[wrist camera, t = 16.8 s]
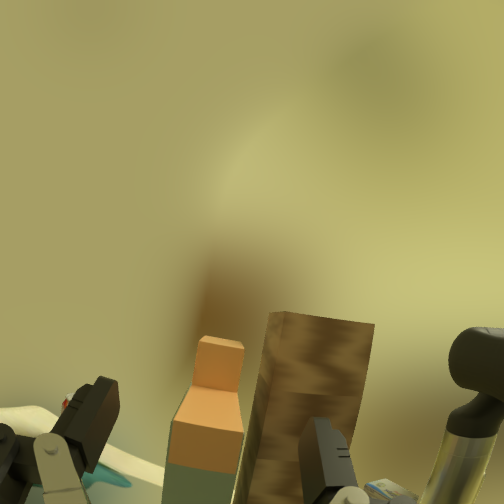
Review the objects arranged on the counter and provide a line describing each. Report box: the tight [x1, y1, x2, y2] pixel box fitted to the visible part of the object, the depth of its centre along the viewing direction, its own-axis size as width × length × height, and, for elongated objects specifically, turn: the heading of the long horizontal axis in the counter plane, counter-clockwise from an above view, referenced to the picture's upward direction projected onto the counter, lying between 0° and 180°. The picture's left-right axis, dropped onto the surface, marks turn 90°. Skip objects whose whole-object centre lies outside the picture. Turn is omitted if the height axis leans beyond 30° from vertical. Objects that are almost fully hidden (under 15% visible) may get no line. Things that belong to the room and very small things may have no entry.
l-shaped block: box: [168, 336, 245, 474], centre depth 24 cm, size 4×18×7 cm, turn 4°
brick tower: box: [233, 311, 375, 504], centre depth 33 cm, size 10×11×32 cm
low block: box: [162, 382, 244, 504], centre depth 29 cm, size 6×18×21 cm, turn 5°
